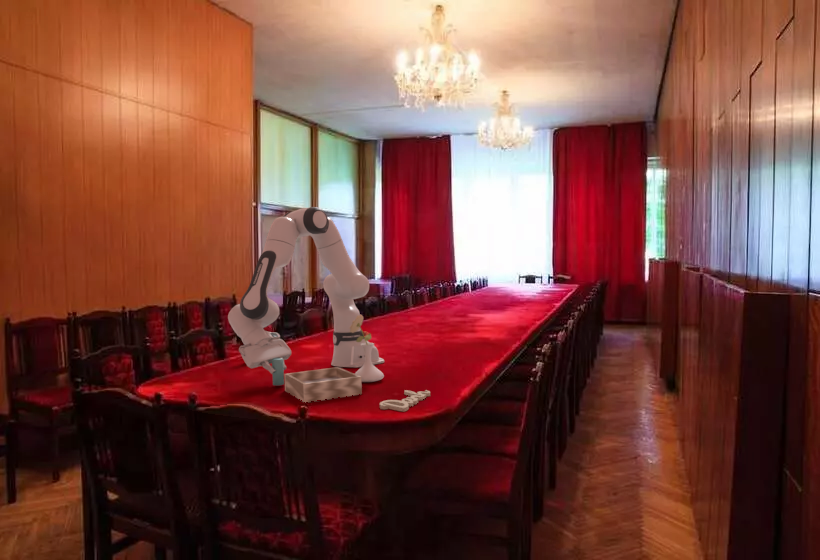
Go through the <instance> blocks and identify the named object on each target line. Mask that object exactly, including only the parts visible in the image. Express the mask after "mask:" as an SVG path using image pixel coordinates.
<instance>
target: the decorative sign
mask: <svg viewBox="0 0 820 560" xmlns="http://www.w3.org/2000/svg"><path fill="white" fill-rule="evenodd" d="M403 392H404V393H403V394H404V396H407V395H408V396H407V397H406V398H402V399H401V400H398V399H387V400H383V401H380V402H379V408H380V409H379V410H394V411H397V412H407V411H408V410H409V409H410V407H411V406H412V407H414V405H417V403H418V404H419V401H424V400H425V398H426V399H427V397H431V391H430V390H427V389H425V390H424V391H417V392H415V391H412V390H407V389H406V390H405V389H404V391H403ZM423 399H424V400H423Z"/></svg>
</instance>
